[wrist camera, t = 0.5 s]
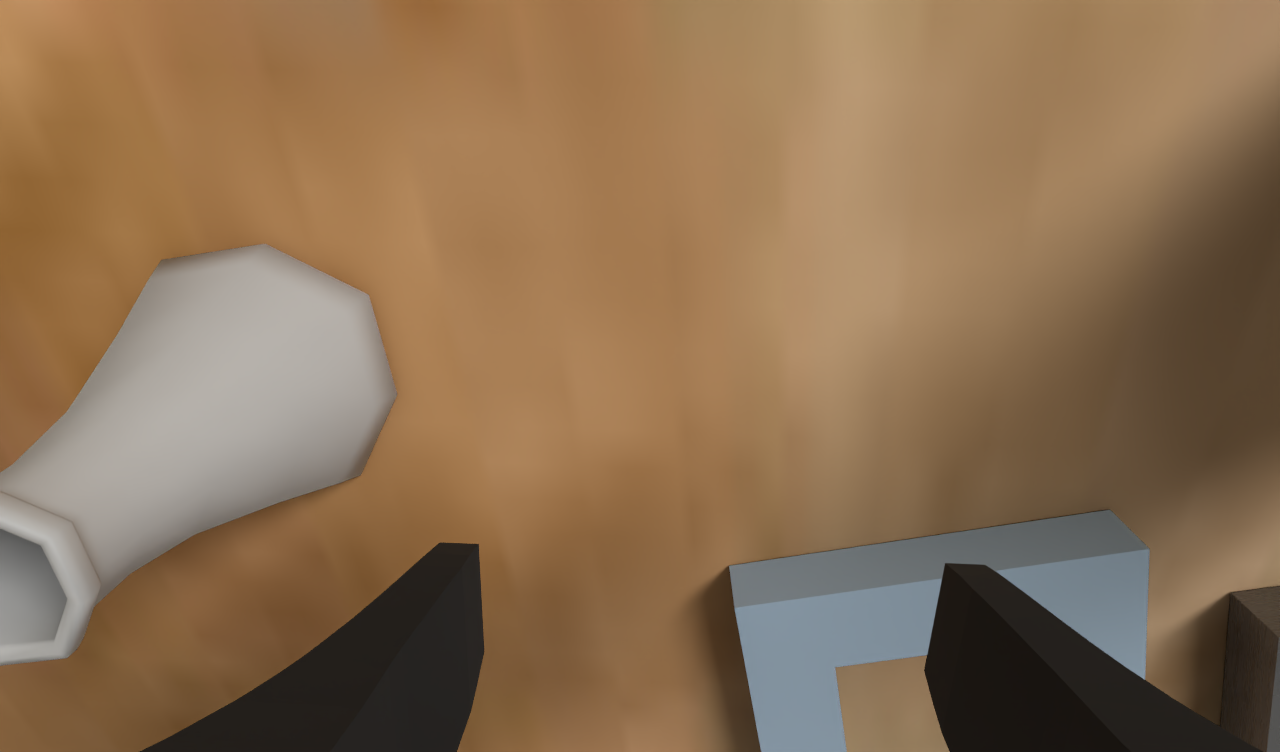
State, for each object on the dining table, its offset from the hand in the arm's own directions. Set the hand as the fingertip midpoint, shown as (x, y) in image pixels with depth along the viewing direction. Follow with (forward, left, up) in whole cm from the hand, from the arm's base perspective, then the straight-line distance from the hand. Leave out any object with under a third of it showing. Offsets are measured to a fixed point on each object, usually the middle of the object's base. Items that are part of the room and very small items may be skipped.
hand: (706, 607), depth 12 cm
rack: (-12, -6, -10) cm, 16 cm away
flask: (+2, +11, -10) cm, 16 cm away
